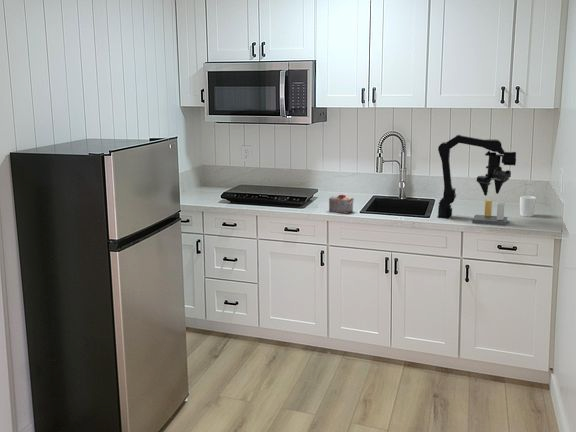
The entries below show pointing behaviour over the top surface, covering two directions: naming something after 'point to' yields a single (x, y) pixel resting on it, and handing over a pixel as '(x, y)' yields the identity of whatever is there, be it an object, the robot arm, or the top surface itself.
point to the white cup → (527, 205)
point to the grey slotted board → (489, 220)
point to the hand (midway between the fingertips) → (491, 194)
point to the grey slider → (500, 211)
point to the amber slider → (488, 208)
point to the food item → (341, 203)
